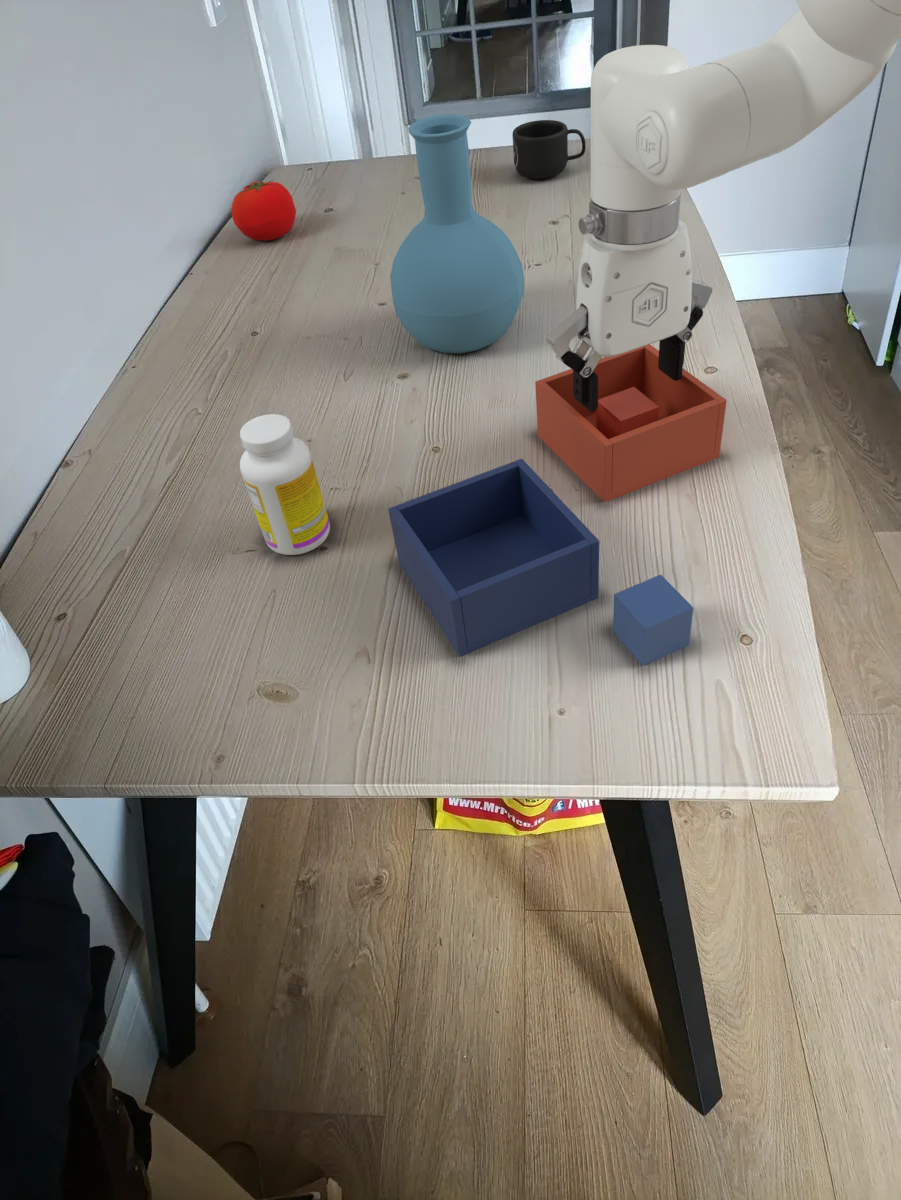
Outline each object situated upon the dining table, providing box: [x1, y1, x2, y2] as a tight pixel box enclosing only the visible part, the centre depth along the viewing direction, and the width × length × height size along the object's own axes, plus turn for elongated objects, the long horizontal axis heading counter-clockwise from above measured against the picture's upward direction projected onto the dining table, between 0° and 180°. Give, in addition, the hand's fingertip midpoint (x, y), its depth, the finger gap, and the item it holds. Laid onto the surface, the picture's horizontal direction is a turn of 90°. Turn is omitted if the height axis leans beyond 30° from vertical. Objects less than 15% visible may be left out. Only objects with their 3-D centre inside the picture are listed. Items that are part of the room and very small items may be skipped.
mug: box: [512, 119, 587, 181], centre depth 146 cm, size 12×9×7 cm
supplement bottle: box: [239, 413, 331, 556], centre depth 83 cm, size 7×7×13 cm
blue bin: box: [387, 458, 600, 657], centre depth 78 cm, size 14×14×7 cm
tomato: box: [231, 179, 297, 242], centre depth 140 cm, size 9×10×8 cm
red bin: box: [534, 344, 727, 503], centre depth 90 cm, size 14×14×7 cm
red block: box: [596, 387, 659, 440], centre depth 90 cm, size 4×4×4 cm
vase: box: [390, 113, 525, 355], centre depth 104 cm, size 16×16×25 cm
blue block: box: [612, 574, 694, 667], centre depth 72 cm, size 4×4×4 cm
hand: (628, 389), depth 88 cm, fingers open, 9 cm apart
